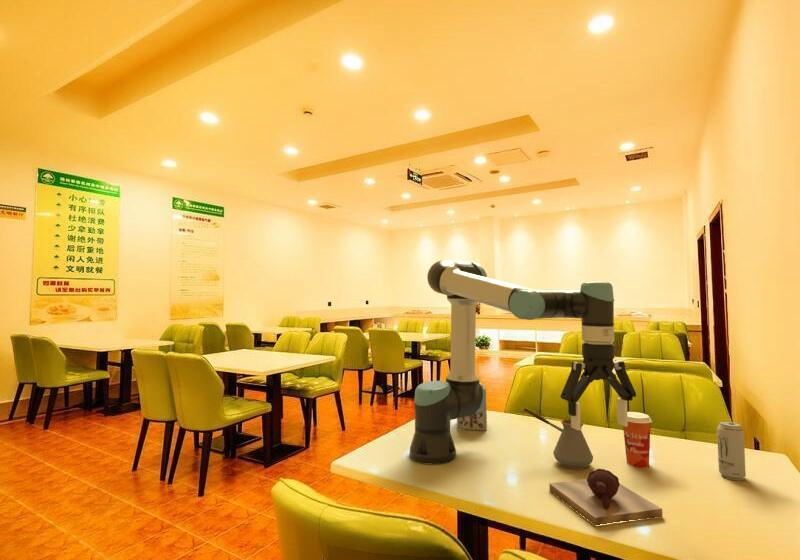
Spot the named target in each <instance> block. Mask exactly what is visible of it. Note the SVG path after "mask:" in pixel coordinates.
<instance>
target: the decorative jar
mask: <svg viewBox="0 0 800 560" xmlns="http://www.w3.org/2000/svg"><path fill="white" fill-rule="evenodd" d="M483 388H484V389H485V392H486V393H487V388H486V386H485V385H483ZM487 415H488V414H487V401H486V402H485V405H484V407H483V409H482V410H481V411H480V412H478V413H476V414H474V415H472V416H466V417H461V418H457V419H456V430H459V429H464V431H479V432H487V430H488V429H487V428H488V425H487V423H488V421H487V420H488V419H487V418H488V417H487Z"/></svg>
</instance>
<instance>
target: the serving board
mask: <svg viewBox="0 0 800 560" xmlns="http://www.w3.org/2000/svg"><path fill="white" fill-rule="evenodd" d="M550 491H551V492H550ZM549 492H550V493H551V494H553V493H554V494H555V495H556V496H555V495H554V494H553V495H554V496H555V497H557V496H558V497H559V498H560V499H559V498H558V497H557V498H558V499H559V500H561V501H562V500H563V501H564V502H565V503H564V502H563V501H562V502H563V503H564V504H566V503H567V504H568V505H569V506H571V507H572V508H573V509H574V510H573V509H572V508H571V507H570V508H571V509H572V510H573V511H575V512H576V511H577V512H578V513H579V515H580V514H581V515H582V516H584V517H585V518H586V519H588V520H589V521H590V522H592V523H593V524H594V525H600V524H607V523H613V522H620V521H629V520H638V519H647V518H655V517H662V518H663V508H662V507H660V506H659V505H658V504H655V503H653V502H652V501H649V500H648V499H646V498H645V497H643V496H641V495H640V494H638V493H636V492H634V491H633V490H631V489H629V488H628V487H626V486H624V485H623V484H621V483H620V485H619V488H618V491H617V494H616V495H614V496H613V497H612V498H611V499H609V500H610V507H609V508H608V509H605V508H604V507H603V504H602V499H601V498H600V497H598V496H596V495H594V494H593V492H592V490H591V489H590V487H589V486H588V482H587V478H584V479H583V478H582V479H575V480H567V481H558V482H557V481H555V482H549ZM567 504H566V505H567ZM568 505H567V506H568ZM569 506H568V507H569ZM577 512H576V513H577ZM578 513H577V514H578ZM581 515H580V516H581ZM582 516H581V517H582ZM585 518H584V519H585ZM586 519H585V520H586ZM655 519H656V518H655ZM589 521H588V522H589ZM590 522H589V523H590ZM594 525H593V526H594Z"/></svg>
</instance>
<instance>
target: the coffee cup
mask: <svg viewBox="0 0 800 560" xmlns="http://www.w3.org/2000/svg"><path fill="white" fill-rule="evenodd" d="M627 418H628V426H627V427H625V426H622V429H623V438H624V448H625V456H626V458H625V459H626V463H627V464H628V465H630V466H631V465H632V467H635V468H643V469H644V468H646V469H647V468H648V467H649V466H650V454H651V453H650V452H651V451H650V450H651V449H650V448H651V447H650V446H651V445H650V444H651V423H653V420H652V419H651V417H650V416H649V415H648V414H646V413H642V412H639V411H638V412H636V411H629V412H627Z"/></svg>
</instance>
